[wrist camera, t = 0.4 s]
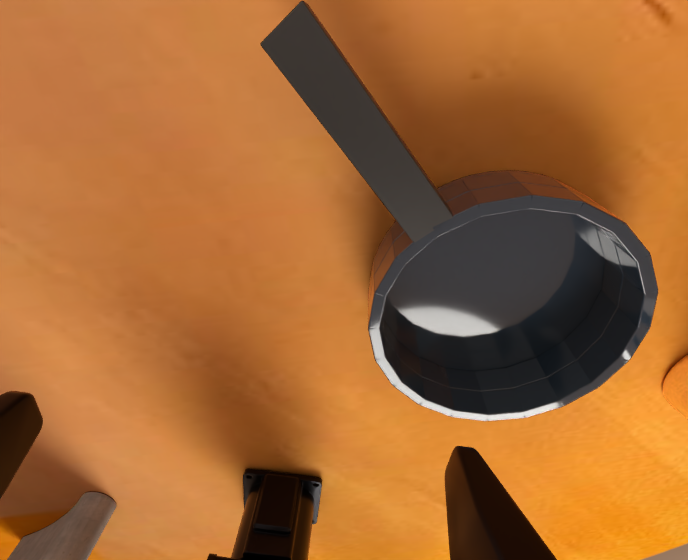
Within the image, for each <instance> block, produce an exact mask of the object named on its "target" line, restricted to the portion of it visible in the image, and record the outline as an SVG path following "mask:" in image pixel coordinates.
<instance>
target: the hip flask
mask: <svg viewBox="0 0 688 560" xmlns="http://www.w3.org/2000/svg"><path fill="white" fill-rule="evenodd" d="M115 508H116V503H115V502H114V500H113V499H111V498H110V497H108V496H107V495H104V494H102V493H98V492H87V493H85V494H83V495H82V496H81V498H80V499H79V501H78V502H77V503H76V505H75V506H74V507H73V508H72V509H71V510H70V511H69V512H68V513H66V514H65V515H64V516H63V517H61V518H60V519H58V520H57V521H56V522H54V523H53V524H51V525H49V526H48V527H46V528H44V529H42V530H40V531H37V532H35V533H32V534H30V535H27V536H24V537H23V538H22V539H21V541H20V542H19V544H18V545H17V546H16V548H15V549H14V551H13V552H12V554H11V555H10V556H9V558H8V559H7V560H87V559H88V557H89V555H90V553H91V552H92V550H93V548H94V546H95V544H96V543H97V541H98V539H99V537H100V535H101V533H102V532H103V530H104V528H105V526H106V524H107V523H108V521H109V519H110V517H111V515H112V514H113V512H114V510H115Z"/></svg>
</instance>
